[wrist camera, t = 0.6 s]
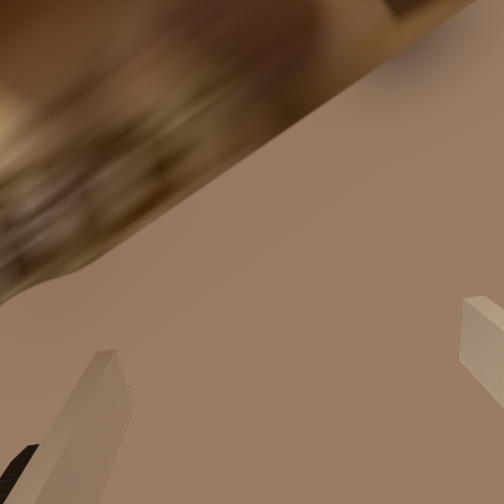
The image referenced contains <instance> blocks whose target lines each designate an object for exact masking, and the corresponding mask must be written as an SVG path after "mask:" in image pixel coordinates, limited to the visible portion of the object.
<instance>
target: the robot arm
mask: <svg viewBox="0 0 504 504" xmlns="http://www.w3.org/2000/svg"><path fill="white" fill-rule="evenodd" d="M459 360H460V361H461V362H462V363H463V364H464V365H465V367H466V368H467V369H468V370H469V371H470V372H471V373H472V374H473V375H474V376H475V377H476V379H477V380H478V381H479V382H480V383H481V384H482V385H483V386H484V387H485V388H486V389H487V390H488V392H489V393H490V394H491V395H492V396H493V397H494V398H495V399H496V400H497V401H498V402H499V403H500V404H501V406H502V407H503V408H504V310H503V309H502V308H500V307H499V306H498V305H496V304H495V303H493V302H492V301H491V300H489V299H488V298H487V297H485V296H477V297H470V298H464V299H463V309H462V325H461V341H460V357H459ZM133 409H134V403H133V400H132V397H131V394H130V391H129V388H128V385H127V382H126V379H125V376H124V372H123V370H122V366H121V363H120V360H119V357H118V354H117V351H116V349H113V350H105V351H99V352H96V353H95V354H94V356H93V357H92V359H91V361H90V362H89V364H88V366H87V367H86V369H85V371H84V372H83V374H82V376H81V377H80V379H79V381H78V382H77V384H76V385H75V387H74V389H73V390H72V392H71V394H70V396H69V397H68V399H67V400H66V402H65V404H64V405H63V407H62V408H61V410H60V412H59V413H58V415H57V417H56V418H55V420H54V422H53V423H52V425H51V427H50V428H49V430H48V432H47V433H46V435H45V436H44V438H43V440H42V441H41V443H40V444H36V445H29V446H27V447H26V448H25V449H24V450H23V451H22V452H21V453H20V454H19V455H18V456H16V457H15V458H14V459H13V460H12V461H11V463H10V464H9V466H8V467H7V469H6V470H5V471H4V473H3V474H2V476H1V478H0V504H99V503H100V500H101V498H102V495H103V492H104V489H105V487H106V484H107V481H108V478H109V476H110V473H111V470H112V467H113V464H114V462H115V459H116V456H117V453H118V451H119V448H120V445H121V442H122V439H123V437H124V434H125V431H126V428H127V425H128V423H129V419H130V417H131V414H132V412H133Z"/></svg>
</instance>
